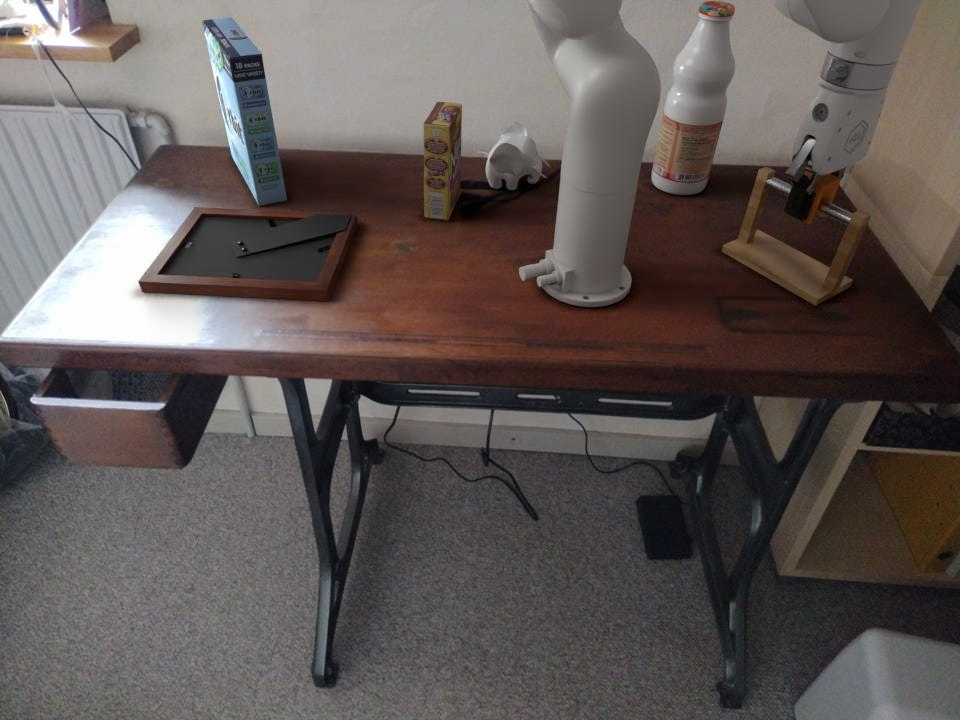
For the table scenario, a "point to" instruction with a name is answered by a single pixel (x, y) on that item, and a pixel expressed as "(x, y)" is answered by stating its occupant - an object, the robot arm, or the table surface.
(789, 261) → the rail stand
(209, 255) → the picture frame
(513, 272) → the table surface
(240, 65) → the gum box
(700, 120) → the fruit juice
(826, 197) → the clip
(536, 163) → the elephant figurine
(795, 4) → the robot arm
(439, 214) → the candy box
